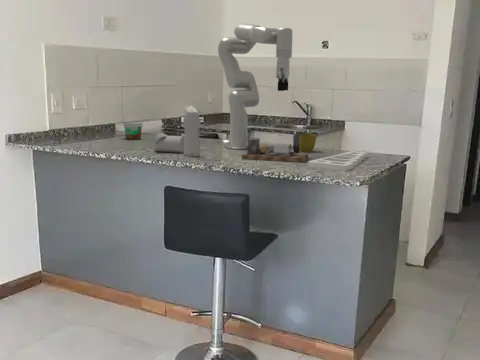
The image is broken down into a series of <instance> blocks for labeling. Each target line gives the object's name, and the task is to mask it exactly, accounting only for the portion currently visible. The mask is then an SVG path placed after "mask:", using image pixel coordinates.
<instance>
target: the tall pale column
mask: <svg viewBox="0 0 480 360" xmlns="http://www.w3.org/2000/svg"><path fill="white" fill-rule="evenodd" d="M182 119H183V121H182V122H183V127H184V138H185V139H184V152H183V155H184V156H188V157H196V158H199V157H201V156H200V155H201V147H200V146H201V142H200V127H201V118H200V117H199V112H197V111H194V110H189V111H185V115H184V117H182Z"/></svg>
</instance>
